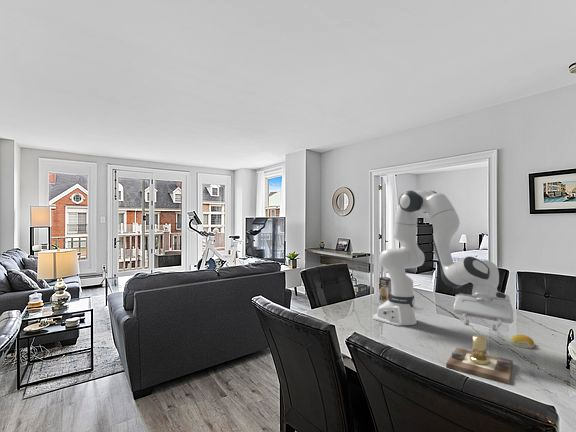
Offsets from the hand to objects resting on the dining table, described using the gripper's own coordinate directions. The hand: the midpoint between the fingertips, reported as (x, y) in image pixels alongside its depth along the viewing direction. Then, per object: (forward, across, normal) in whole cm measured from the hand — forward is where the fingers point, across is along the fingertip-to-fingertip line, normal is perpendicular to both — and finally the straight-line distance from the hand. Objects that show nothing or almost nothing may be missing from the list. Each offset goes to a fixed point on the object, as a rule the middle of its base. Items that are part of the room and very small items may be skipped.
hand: (480, 327), depth 121 cm
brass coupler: (+11, 0, +5) cm, 12 cm away
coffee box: (-31, -60, +51) cm, 85 cm away
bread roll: (-12, +12, +31) cm, 35 cm away
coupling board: (+12, 0, +6) cm, 14 cm away
